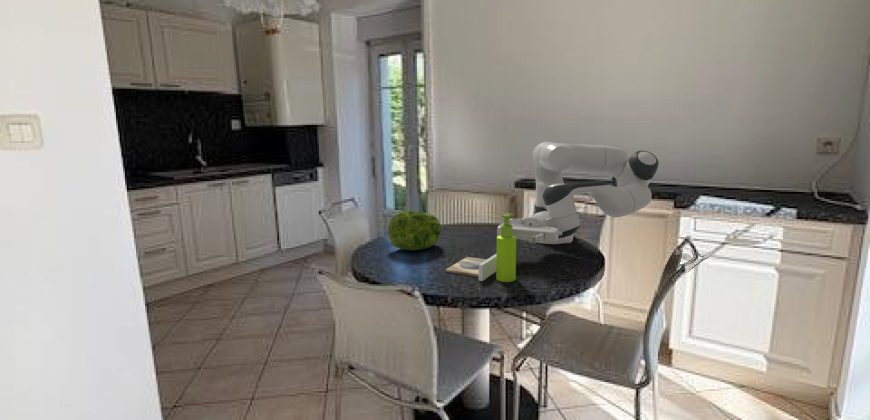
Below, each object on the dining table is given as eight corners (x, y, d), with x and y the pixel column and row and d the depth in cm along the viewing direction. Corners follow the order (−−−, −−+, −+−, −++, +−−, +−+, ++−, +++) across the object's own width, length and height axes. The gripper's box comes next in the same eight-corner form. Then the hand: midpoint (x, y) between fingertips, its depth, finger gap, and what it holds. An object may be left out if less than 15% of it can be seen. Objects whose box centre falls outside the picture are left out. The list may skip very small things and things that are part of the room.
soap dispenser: (519, 276, 146) (521, 213, 143) (511, 283, 141) (512, 217, 137) (501, 273, 149) (502, 211, 146) (493, 280, 143) (493, 215, 140)
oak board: (467, 259, 166) (467, 256, 165) (499, 263, 160) (499, 261, 160) (445, 271, 152) (445, 269, 152) (479, 277, 146) (479, 274, 146)
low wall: (502, 263, 160) (503, 249, 159) (506, 263, 160) (506, 249, 159) (478, 280, 143) (478, 264, 142) (482, 281, 142) (482, 265, 142)
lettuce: (450, 255, 180) (453, 215, 183) (413, 248, 164) (417, 205, 167) (418, 254, 190) (422, 216, 193) (381, 248, 175) (385, 207, 177)
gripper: (563, 241, 158) (552, 251, 147) (505, 235, 168) (490, 244, 157) (564, 222, 157) (552, 231, 145) (506, 218, 167) (490, 225, 155)
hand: (520, 238), depth 151 cm, fingers open, 8 cm apart
